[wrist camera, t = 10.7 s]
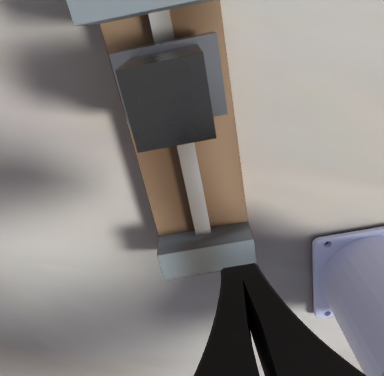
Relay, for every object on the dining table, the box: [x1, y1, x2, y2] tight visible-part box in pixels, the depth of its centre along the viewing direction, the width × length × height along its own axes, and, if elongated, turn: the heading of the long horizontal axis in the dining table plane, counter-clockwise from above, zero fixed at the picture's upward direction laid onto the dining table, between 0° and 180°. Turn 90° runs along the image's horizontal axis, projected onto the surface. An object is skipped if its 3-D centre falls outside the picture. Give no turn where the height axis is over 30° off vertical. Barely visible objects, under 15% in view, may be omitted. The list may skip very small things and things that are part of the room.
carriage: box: [109, 31, 228, 153], centre depth 14 cm, size 5×4×6 cm
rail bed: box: [100, 0, 257, 280], centre depth 18 cm, size 6×20×3 cm, turn 10°
